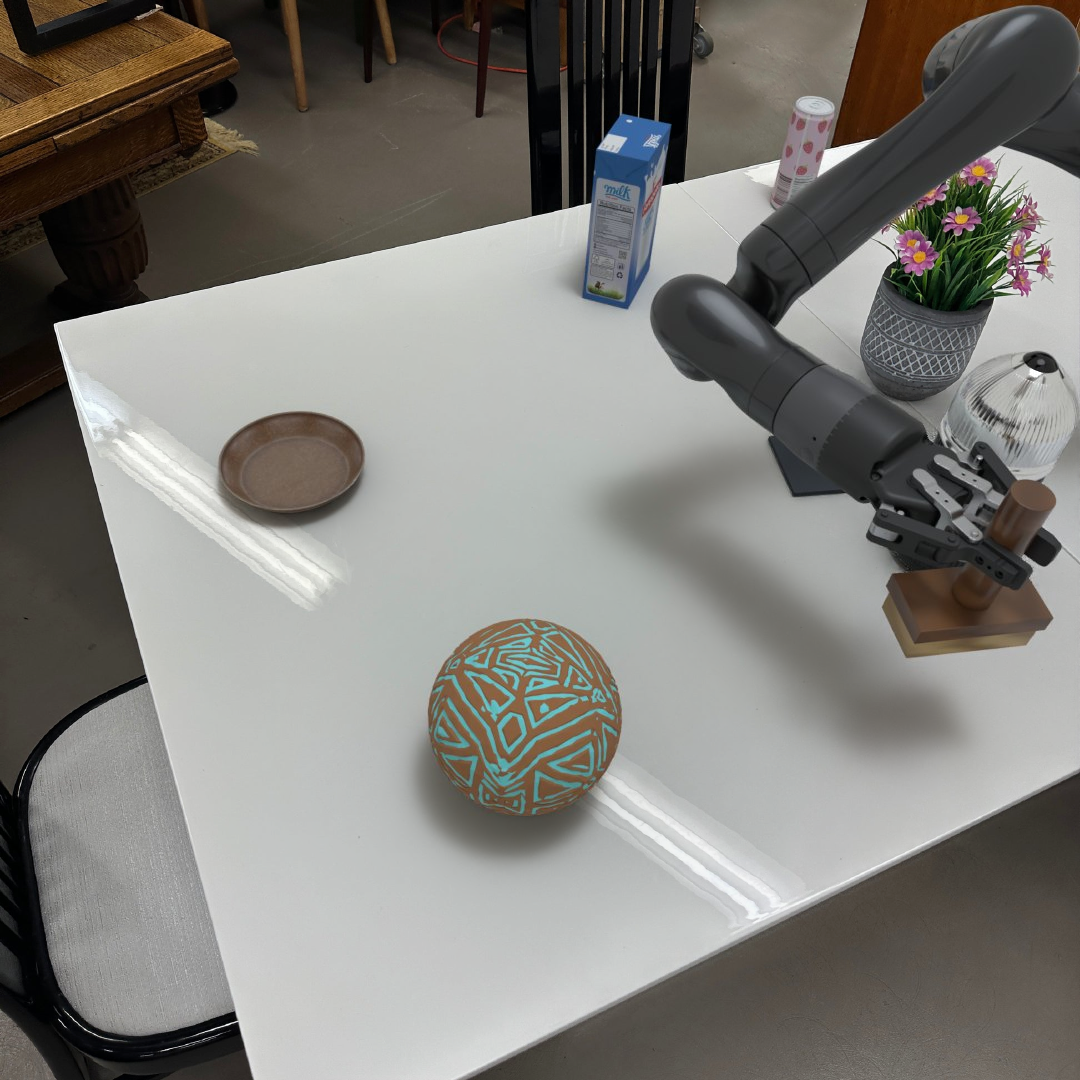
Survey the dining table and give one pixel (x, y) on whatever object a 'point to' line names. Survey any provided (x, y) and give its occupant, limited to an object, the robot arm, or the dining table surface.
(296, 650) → the dining table surface
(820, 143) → the beverage can
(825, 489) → the mat
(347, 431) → the saucer
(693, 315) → the robot arm
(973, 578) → the brush
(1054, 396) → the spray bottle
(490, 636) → the decorative sphere
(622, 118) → the milk carton
